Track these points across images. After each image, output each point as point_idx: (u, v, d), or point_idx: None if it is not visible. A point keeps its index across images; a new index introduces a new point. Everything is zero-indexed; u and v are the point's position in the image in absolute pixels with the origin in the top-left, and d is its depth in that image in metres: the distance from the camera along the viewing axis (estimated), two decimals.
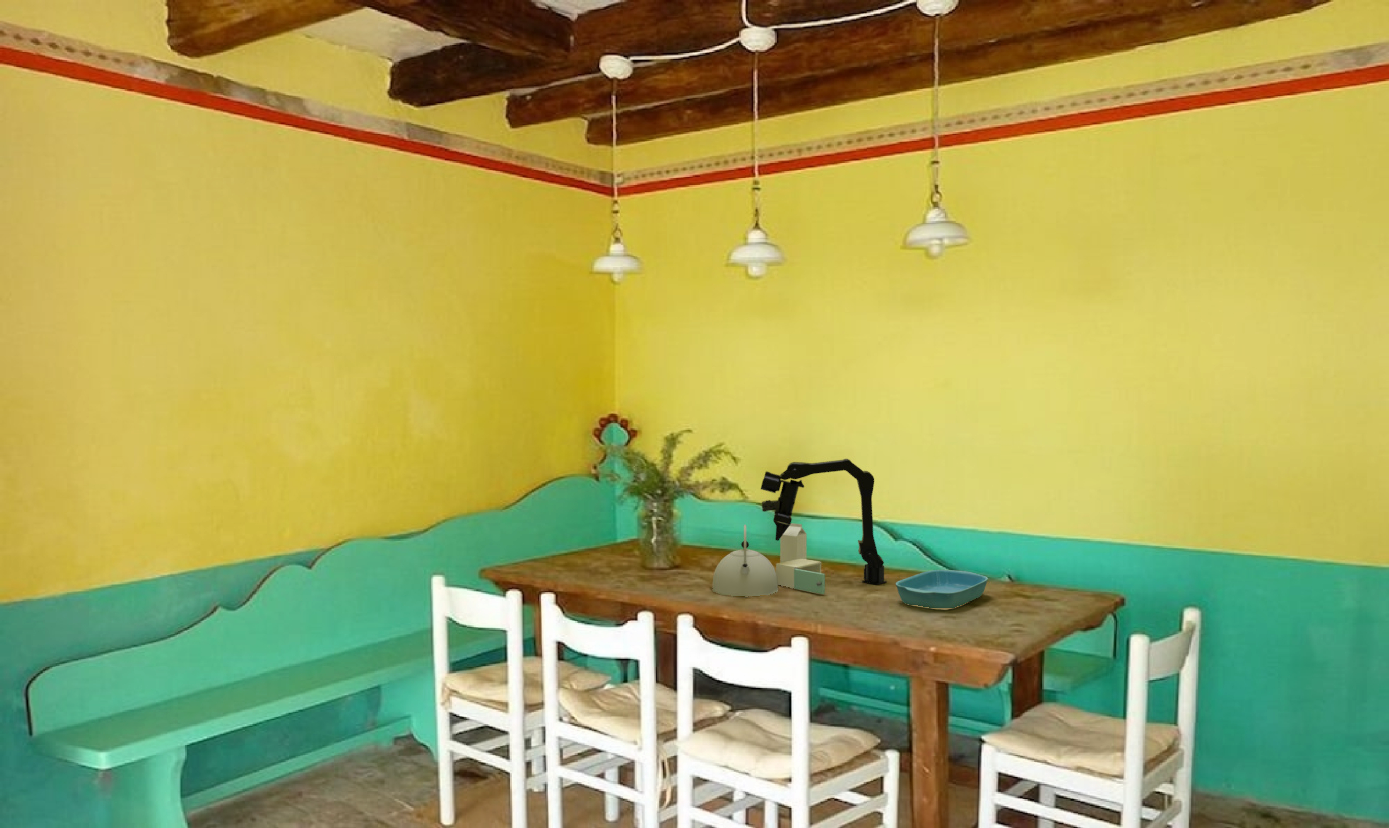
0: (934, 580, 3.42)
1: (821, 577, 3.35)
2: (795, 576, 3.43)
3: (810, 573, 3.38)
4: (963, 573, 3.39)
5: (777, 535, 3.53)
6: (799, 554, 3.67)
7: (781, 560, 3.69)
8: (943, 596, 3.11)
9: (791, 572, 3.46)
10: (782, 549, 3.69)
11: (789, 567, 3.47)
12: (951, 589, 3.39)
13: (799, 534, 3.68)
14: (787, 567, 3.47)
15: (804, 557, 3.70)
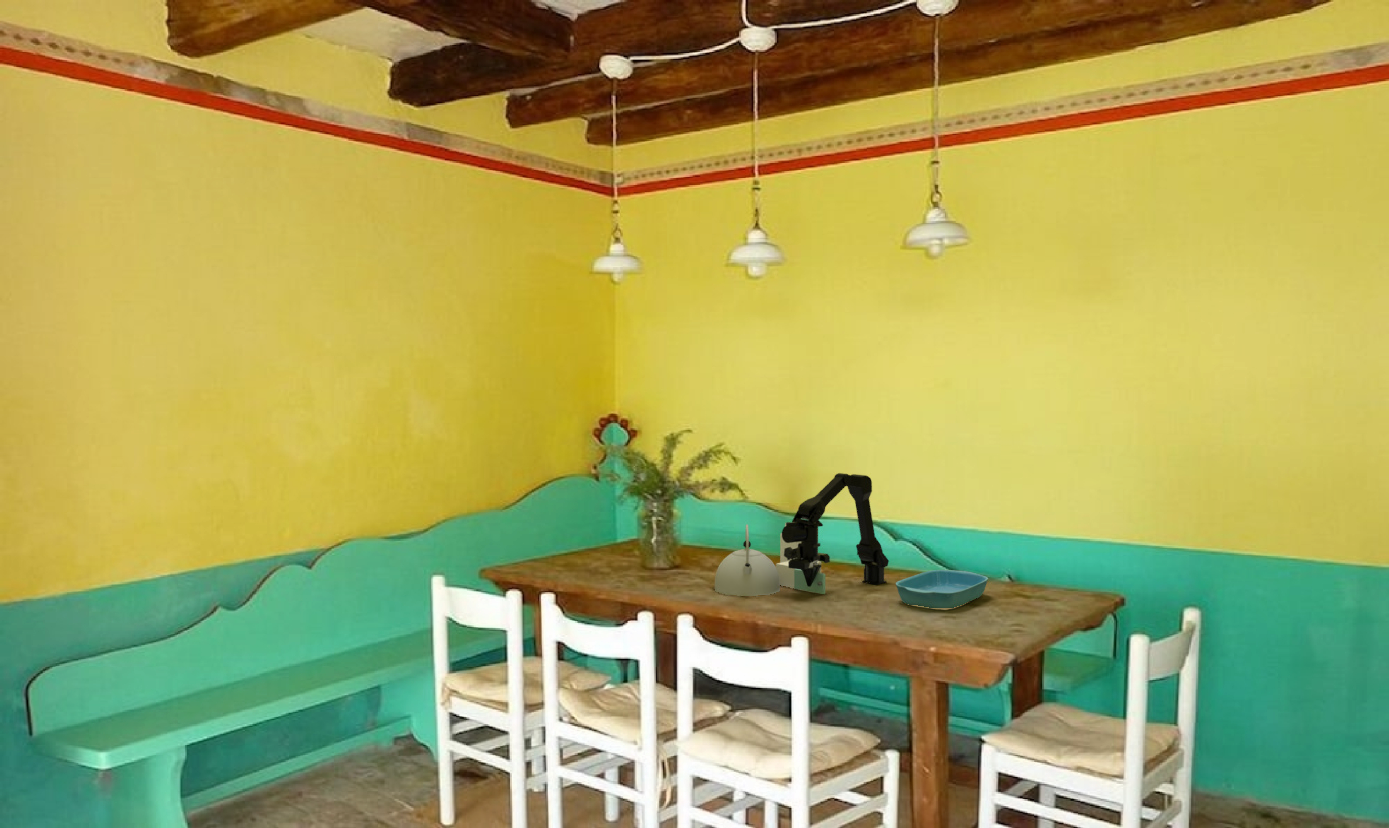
0: (934, 580, 3.42)
1: (822, 577, 3.35)
2: (795, 576, 3.43)
3: None
4: (963, 573, 3.39)
5: (807, 581, 3.35)
6: None
7: (781, 560, 3.69)
8: (943, 596, 3.11)
9: (791, 572, 3.46)
10: (782, 549, 3.69)
11: None
12: (951, 589, 3.39)
13: None
14: (787, 567, 3.47)
15: None
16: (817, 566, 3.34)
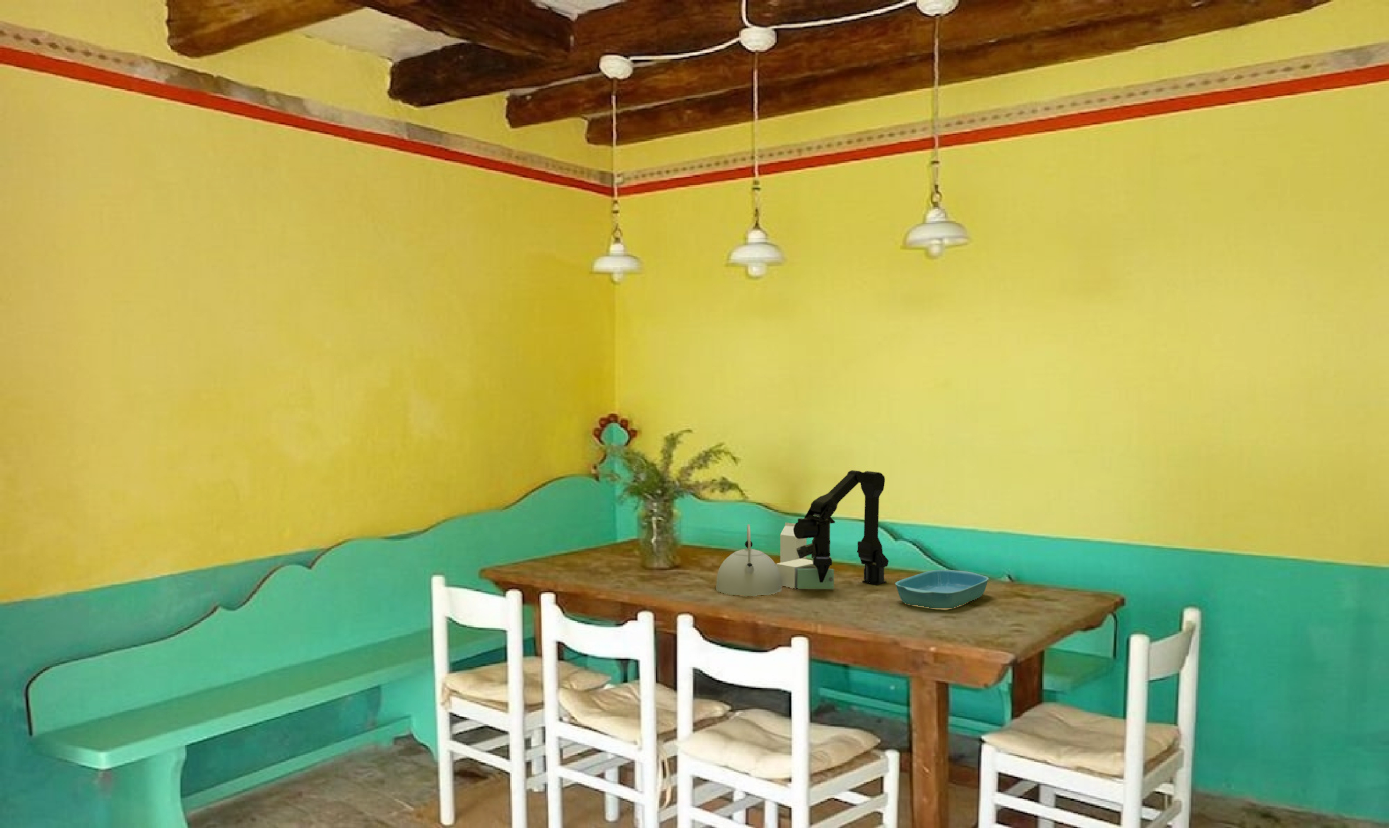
0: (935, 580, 3.42)
1: (832, 572, 3.42)
2: (799, 576, 3.43)
3: None
4: (964, 573, 3.39)
5: (820, 577, 3.40)
6: None
7: (781, 560, 3.69)
8: (942, 596, 3.11)
9: (791, 572, 3.46)
10: (782, 549, 3.69)
11: (789, 567, 3.47)
12: (952, 589, 3.39)
13: None
14: (787, 567, 3.47)
15: (804, 557, 3.70)
16: None
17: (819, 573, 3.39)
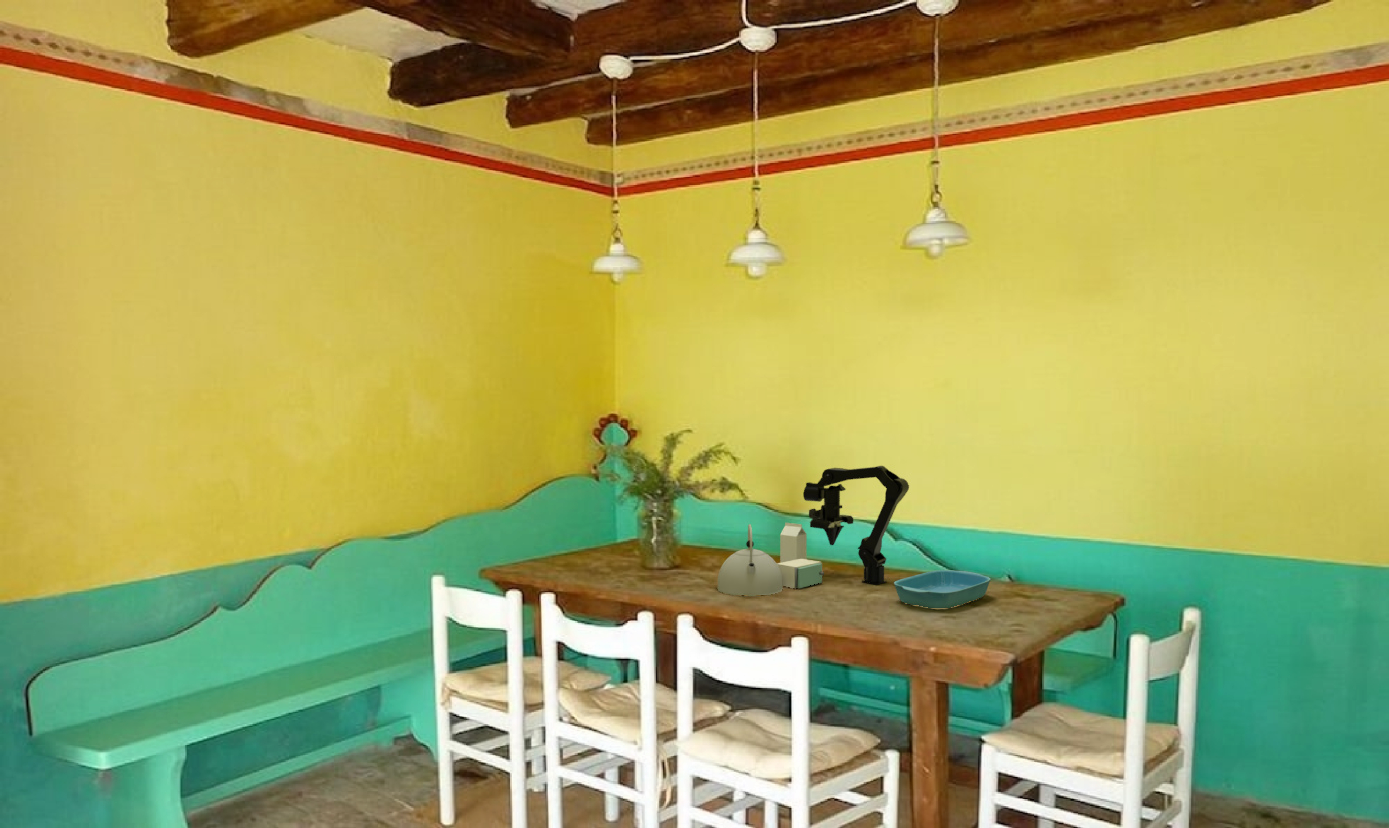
0: (938, 580, 3.42)
1: (821, 567, 3.53)
2: (801, 575, 3.45)
3: (813, 567, 3.49)
4: (967, 574, 3.38)
5: (829, 540, 3.63)
6: (799, 554, 3.67)
7: (781, 560, 3.69)
8: (938, 595, 3.11)
9: (791, 572, 3.46)
10: (782, 549, 3.69)
11: (789, 567, 3.47)
12: (955, 589, 3.38)
13: (799, 534, 3.68)
14: (787, 567, 3.47)
15: (804, 557, 3.70)
16: (839, 526, 3.62)
17: (828, 536, 3.63)
